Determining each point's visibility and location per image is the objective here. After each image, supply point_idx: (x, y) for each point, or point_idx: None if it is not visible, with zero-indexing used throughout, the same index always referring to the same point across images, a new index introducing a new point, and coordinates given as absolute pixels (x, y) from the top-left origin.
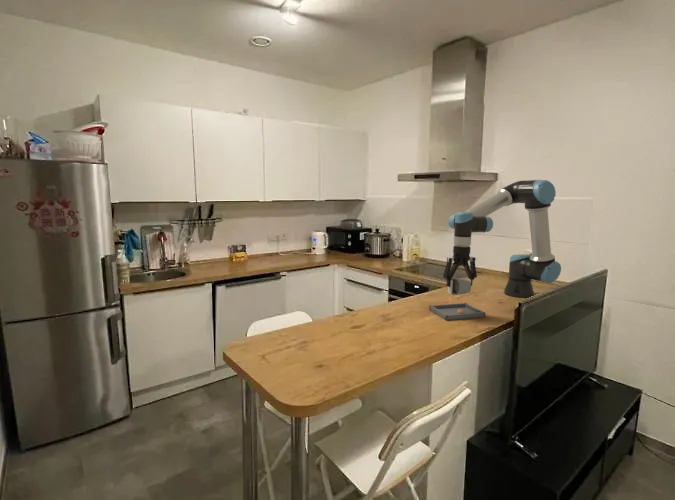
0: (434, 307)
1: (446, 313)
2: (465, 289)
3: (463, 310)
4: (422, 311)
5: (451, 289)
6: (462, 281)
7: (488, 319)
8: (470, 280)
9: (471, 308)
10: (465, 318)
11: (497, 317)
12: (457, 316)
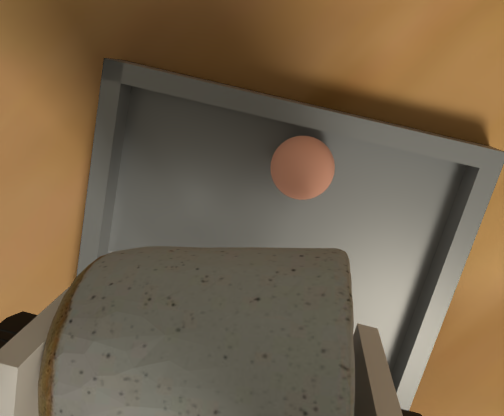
0: (409, 365)
1: (368, 256)
2: (217, 249)
3: (294, 149)
4: (475, 392)
5: (376, 362)
6: (233, 355)
7: (133, 3)
8: (13, 355)
9: (104, 233)
10: (305, 103)
11: (22, 10)
12: (387, 123)
